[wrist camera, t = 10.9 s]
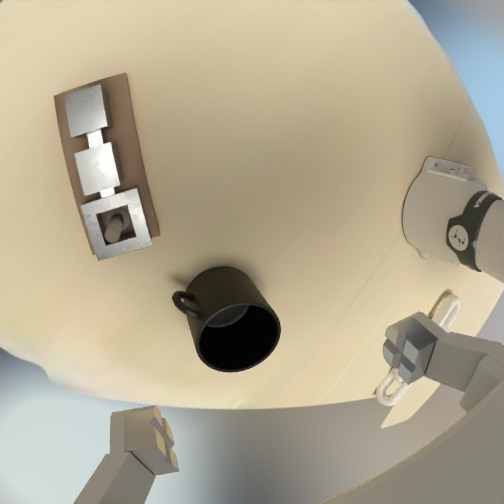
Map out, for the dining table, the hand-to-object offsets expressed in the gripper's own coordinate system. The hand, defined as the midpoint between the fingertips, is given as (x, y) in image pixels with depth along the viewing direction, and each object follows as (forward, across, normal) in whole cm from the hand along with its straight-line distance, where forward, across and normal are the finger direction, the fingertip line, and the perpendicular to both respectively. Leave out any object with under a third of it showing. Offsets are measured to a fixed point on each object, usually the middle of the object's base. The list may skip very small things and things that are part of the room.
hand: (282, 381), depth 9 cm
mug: (+27, 0, +13) cm, 30 cm away
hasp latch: (+25, +8, -5) cm, 27 cm away
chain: (+29, -40, +43) cm, 66 cm away
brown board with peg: (+27, +8, -6) cm, 29 cm away
